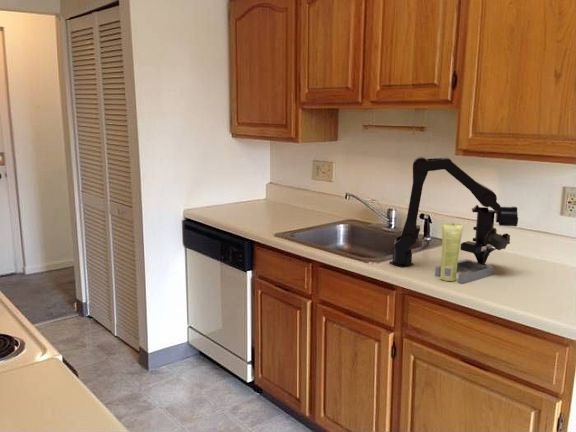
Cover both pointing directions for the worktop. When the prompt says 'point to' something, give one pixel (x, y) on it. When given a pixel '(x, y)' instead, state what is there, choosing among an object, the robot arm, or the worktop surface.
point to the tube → (450, 249)
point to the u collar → (477, 271)
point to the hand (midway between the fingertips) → (481, 267)
